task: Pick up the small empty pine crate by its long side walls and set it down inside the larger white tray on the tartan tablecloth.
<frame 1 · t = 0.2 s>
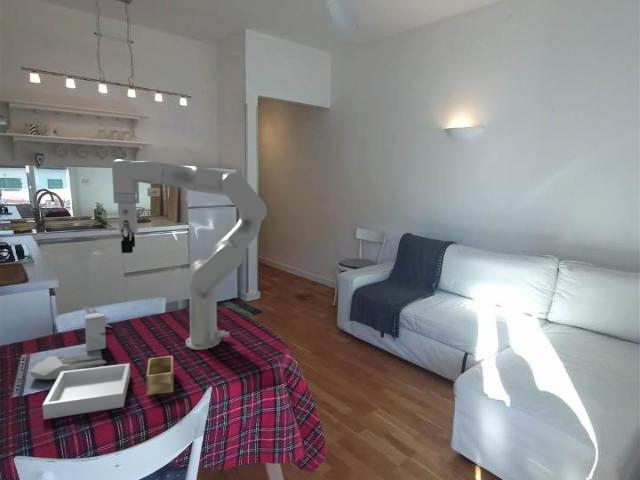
hand: (128, 249, 127), 36 cm above the table, tool pointing down, fingers open, 9 cm apart
white tray: (91, 395, 107), on the table
water lily: (99, 328, 152), on the table
pine crate: (160, 384, 114), on the table
skincare box: (96, 348, 135), on the table
turret: (69, 371, 119), on the table
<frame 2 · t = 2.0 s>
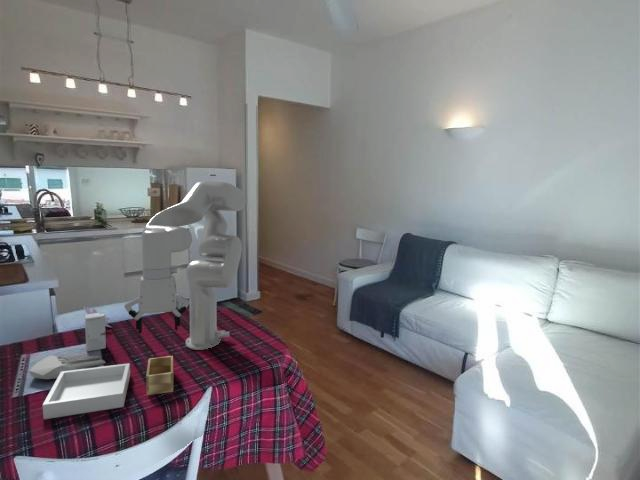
hand: (158, 329, 111), 17 cm above the table, tool pointing down, fingers open, 9 cm apart
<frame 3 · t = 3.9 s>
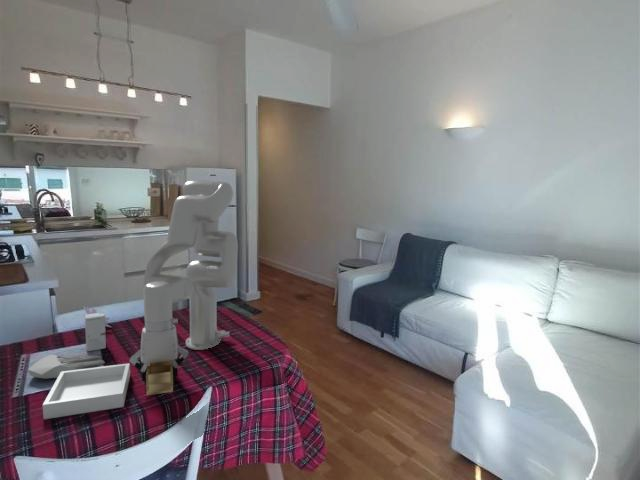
hand: (160, 379, 114), 1 cm above the table, tool pointing down, fingers closed on pine crate, 7 cm apart
pine crate: (160, 383, 114), on the table, touching gripper
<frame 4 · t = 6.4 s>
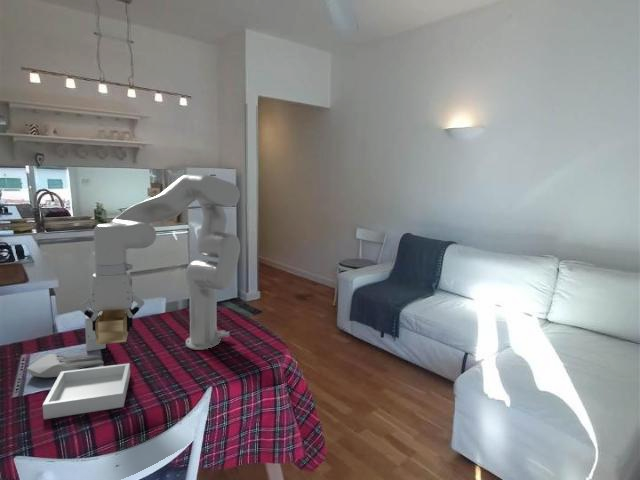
hand: (113, 330, 106), 18 cm above the table, tool pointing down, fingers closed on pine crate, 7 cm apart
pine crate: (113, 335, 106), point 17 cm above the table, touching gripper
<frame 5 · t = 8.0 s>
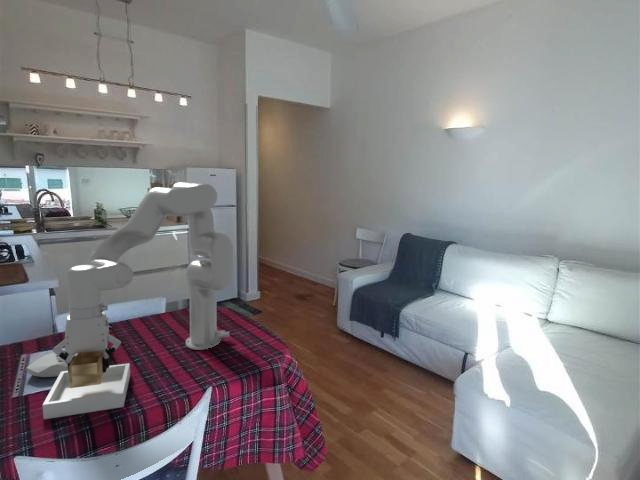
hand: (89, 371, 106), 7 cm above the table, tool pointing down, fingers closed on pine crate, 7 cm apart
pine crate: (89, 375, 106), point 6 cm above the table, touching gripper
when the fingers open (4 cm above the table, at t = 9.1 s): pine crate drops 1 cm, resting on white tray.
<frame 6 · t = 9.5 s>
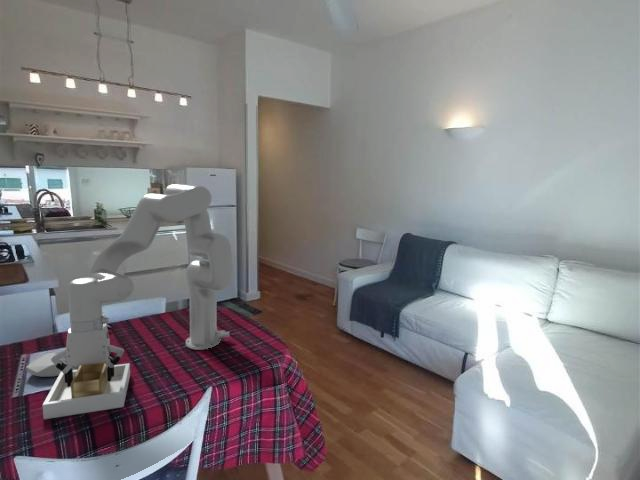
hand: (90, 381, 106), 4 cm above the table, tool pointing down, fingers open, 9 cm apart
pine crate: (91, 391, 107), point 1 cm above the table, touching white tray
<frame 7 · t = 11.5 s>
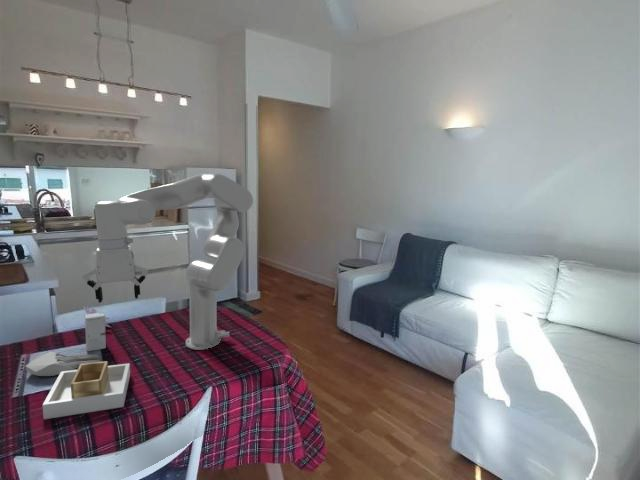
hand: (119, 299, 114), 24 cm above the table, tool pointing down, fingers open, 9 cm apart
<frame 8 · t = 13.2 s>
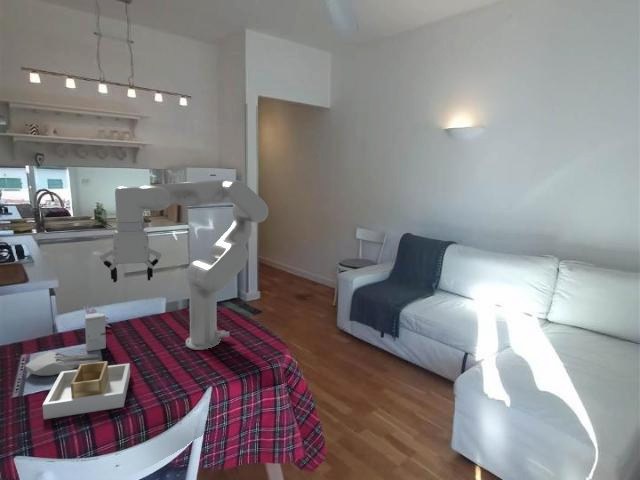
hand: (132, 280, 120), 28 cm above the table, tool pointing down, fingers open, 9 cm apart
at the end: pine crate inside the target area on the white tray (0.0 cm from its centre), point 1.0 cm above the white tray's base; pine crate tilted 0°; the gripper is holding nothing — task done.
